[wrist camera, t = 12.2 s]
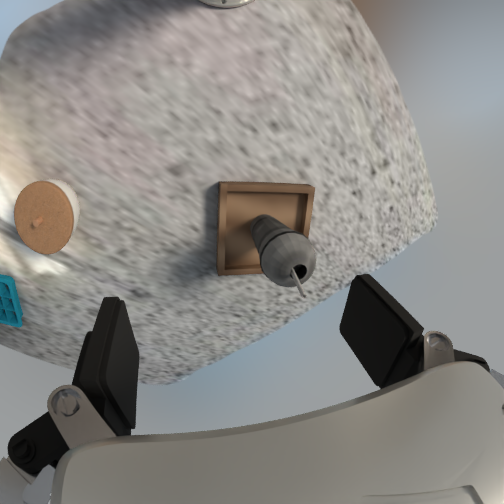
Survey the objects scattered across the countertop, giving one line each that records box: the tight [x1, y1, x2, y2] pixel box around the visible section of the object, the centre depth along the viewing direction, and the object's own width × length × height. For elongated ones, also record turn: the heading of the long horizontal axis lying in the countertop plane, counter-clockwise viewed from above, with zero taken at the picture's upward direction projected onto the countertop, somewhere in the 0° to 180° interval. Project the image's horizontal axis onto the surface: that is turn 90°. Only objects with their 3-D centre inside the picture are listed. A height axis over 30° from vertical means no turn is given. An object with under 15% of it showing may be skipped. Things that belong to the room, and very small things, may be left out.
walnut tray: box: [217, 182, 315, 276], centre depth 45 cm, size 15×15×2 cm
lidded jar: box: [14, 179, 80, 254], centre depth 32 cm, size 11×11×9 cm
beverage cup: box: [250, 214, 316, 298], centre depth 37 cm, size 7×7×20 cm
